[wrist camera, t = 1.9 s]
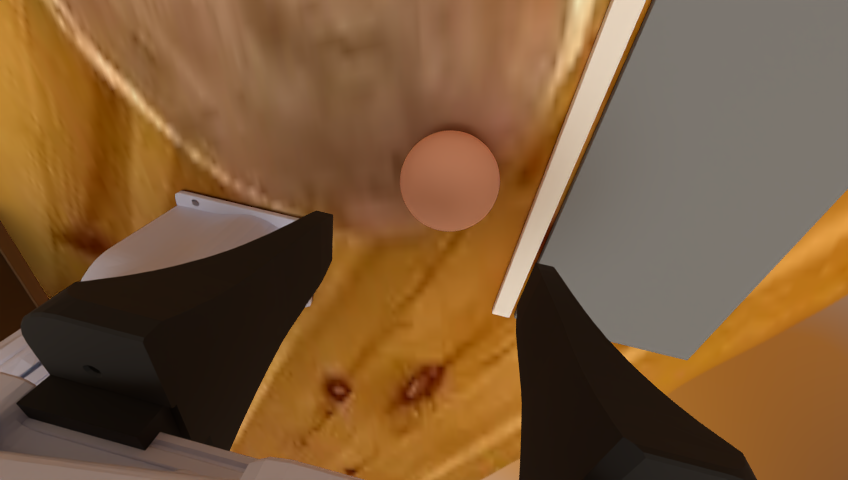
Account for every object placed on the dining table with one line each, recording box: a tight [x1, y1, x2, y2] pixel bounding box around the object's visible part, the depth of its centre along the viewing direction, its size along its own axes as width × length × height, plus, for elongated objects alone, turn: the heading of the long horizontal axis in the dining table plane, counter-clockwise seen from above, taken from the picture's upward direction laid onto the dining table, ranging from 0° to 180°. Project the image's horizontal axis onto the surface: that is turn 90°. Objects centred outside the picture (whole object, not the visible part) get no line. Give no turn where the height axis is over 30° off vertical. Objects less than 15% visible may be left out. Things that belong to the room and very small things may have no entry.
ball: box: [400, 130, 500, 231], centre depth 18 cm, size 5×5×5 cm
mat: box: [492, 0, 848, 360], centre depth 19 cm, size 14×20×1 cm
